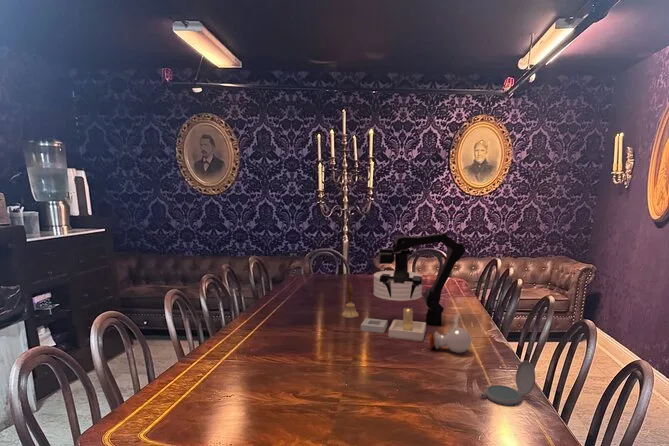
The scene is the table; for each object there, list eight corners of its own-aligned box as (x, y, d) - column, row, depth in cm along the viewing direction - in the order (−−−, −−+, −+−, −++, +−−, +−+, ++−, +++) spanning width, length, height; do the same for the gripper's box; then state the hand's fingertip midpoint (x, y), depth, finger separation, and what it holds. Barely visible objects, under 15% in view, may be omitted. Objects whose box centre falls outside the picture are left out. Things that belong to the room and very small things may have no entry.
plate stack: (364, 291, 250) (365, 272, 250) (403, 287, 262) (404, 269, 261) (390, 303, 225) (390, 282, 224) (431, 297, 237) (432, 277, 236)
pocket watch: (539, 369, 117) (486, 369, 117) (537, 406, 118) (485, 407, 117) (522, 355, 127) (473, 355, 127) (520, 389, 128) (472, 390, 127)
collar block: (387, 325, 187) (387, 320, 187) (383, 332, 177) (383, 327, 177) (365, 323, 190) (365, 318, 190) (360, 330, 180) (360, 324, 180)
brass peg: (413, 331, 178) (413, 308, 177) (411, 334, 174) (412, 310, 173) (403, 330, 179) (404, 307, 178) (402, 333, 175) (402, 309, 174)
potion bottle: (473, 358, 155) (432, 358, 159) (471, 336, 162) (431, 336, 166) (471, 343, 149) (429, 344, 154) (469, 321, 156) (429, 322, 161)
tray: (425, 330, 181) (426, 322, 181) (422, 341, 168) (423, 333, 167) (393, 327, 185) (393, 319, 185) (388, 337, 172) (388, 329, 172)
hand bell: (357, 318, 197) (357, 285, 196) (340, 317, 199) (340, 284, 198) (359, 313, 206) (360, 281, 204) (343, 312, 207) (343, 280, 206)
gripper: (377, 265, 183) (377, 300, 184) (420, 268, 178) (419, 304, 179) (382, 261, 193) (381, 294, 195) (422, 263, 188) (422, 297, 189)
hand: (400, 297), depth 189 cm, fingers open, 9 cm apart
